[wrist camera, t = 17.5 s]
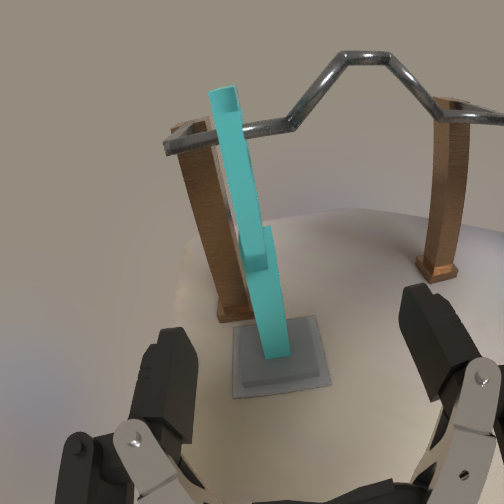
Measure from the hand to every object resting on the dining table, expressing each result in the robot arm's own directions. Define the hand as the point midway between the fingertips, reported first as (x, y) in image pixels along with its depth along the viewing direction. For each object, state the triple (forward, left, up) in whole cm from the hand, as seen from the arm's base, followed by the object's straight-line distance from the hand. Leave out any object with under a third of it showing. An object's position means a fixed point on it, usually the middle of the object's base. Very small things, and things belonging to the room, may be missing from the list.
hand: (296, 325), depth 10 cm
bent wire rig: (-17, -6, -17) cm, 24 cm away
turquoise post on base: (-7, -9, -16) cm, 20 cm away
